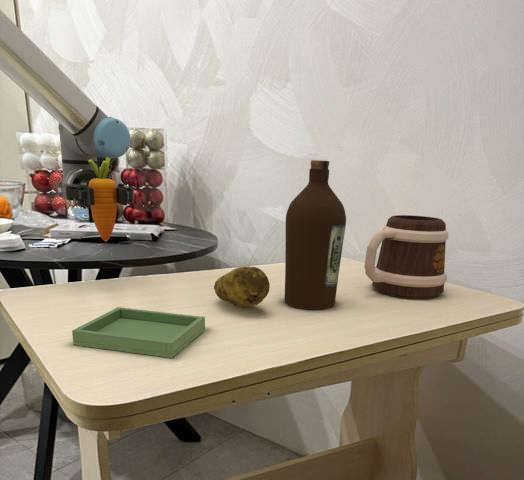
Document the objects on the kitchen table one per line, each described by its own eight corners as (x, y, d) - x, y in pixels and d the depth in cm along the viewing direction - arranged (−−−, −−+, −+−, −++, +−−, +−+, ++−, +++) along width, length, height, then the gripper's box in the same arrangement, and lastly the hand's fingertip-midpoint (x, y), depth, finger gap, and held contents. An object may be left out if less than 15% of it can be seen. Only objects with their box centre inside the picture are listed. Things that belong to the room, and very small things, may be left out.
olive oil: (272, 305, 94) (279, 158, 85) (292, 293, 103) (300, 159, 95) (329, 314, 90) (343, 161, 82) (344, 300, 100) (357, 162, 91)
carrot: (91, 243, 95) (85, 156, 90) (92, 239, 100) (87, 156, 95) (119, 243, 97) (114, 157, 92) (119, 239, 101) (115, 157, 96)
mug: (405, 280, 119) (414, 212, 114) (459, 295, 107) (473, 221, 102) (337, 288, 109) (344, 214, 104) (389, 306, 97) (400, 224, 92)
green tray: (73, 344, 71) (71, 330, 71) (118, 319, 83) (117, 306, 82) (172, 358, 68) (171, 343, 67) (205, 329, 80) (205, 316, 79)
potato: (255, 298, 99) (257, 256, 96) (273, 318, 87) (275, 270, 84) (212, 299, 97) (212, 256, 94) (224, 319, 85) (224, 271, 82)
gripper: (131, 206, 116) (159, 218, 96) (44, 206, 108) (55, 219, 88) (129, 170, 113) (158, 176, 93) (40, 168, 105) (51, 172, 86)
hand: (108, 197), depth 91 cm, fingers closed on carrot, 5 cm apart
